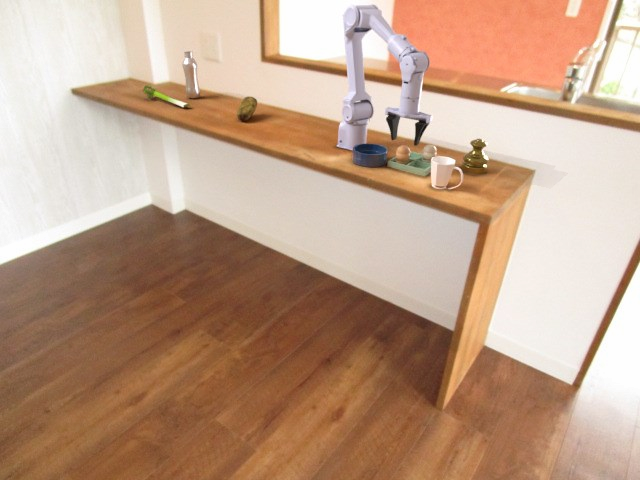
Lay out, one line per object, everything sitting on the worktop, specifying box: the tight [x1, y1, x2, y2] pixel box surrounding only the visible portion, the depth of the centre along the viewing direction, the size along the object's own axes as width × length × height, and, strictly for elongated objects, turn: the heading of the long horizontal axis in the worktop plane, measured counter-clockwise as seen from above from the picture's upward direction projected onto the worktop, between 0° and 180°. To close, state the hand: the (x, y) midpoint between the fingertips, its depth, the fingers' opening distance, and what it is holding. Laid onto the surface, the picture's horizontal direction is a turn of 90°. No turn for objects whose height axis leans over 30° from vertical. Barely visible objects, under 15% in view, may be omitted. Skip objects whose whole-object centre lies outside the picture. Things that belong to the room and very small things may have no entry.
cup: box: [430, 155, 464, 191], centre depth 129 cm, size 7×10×8 cm
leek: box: [142, 84, 191, 109], centre depth 204 cm, size 6×7×30 cm
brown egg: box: [395, 144, 411, 165], centre depth 142 cm, size 4×4×7 cm
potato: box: [236, 96, 258, 122], centre depth 184 cm, size 8×13×8 cm, turn 151°
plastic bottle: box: [181, 51, 201, 99], centre depth 208 cm, size 6×7×20 cm
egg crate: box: [386, 150, 431, 177], centre depth 144 cm, size 13×13×2 cm
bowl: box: [351, 142, 389, 168], centre depth 146 cm, size 11×11×4 cm
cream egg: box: [421, 143, 438, 163], centre depth 144 cm, size 4×4×7 cm
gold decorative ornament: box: [460, 138, 489, 175], centre depth 141 cm, size 7×7×10 cm
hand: (405, 142), depth 140 cm, fingers open, 7 cm apart
